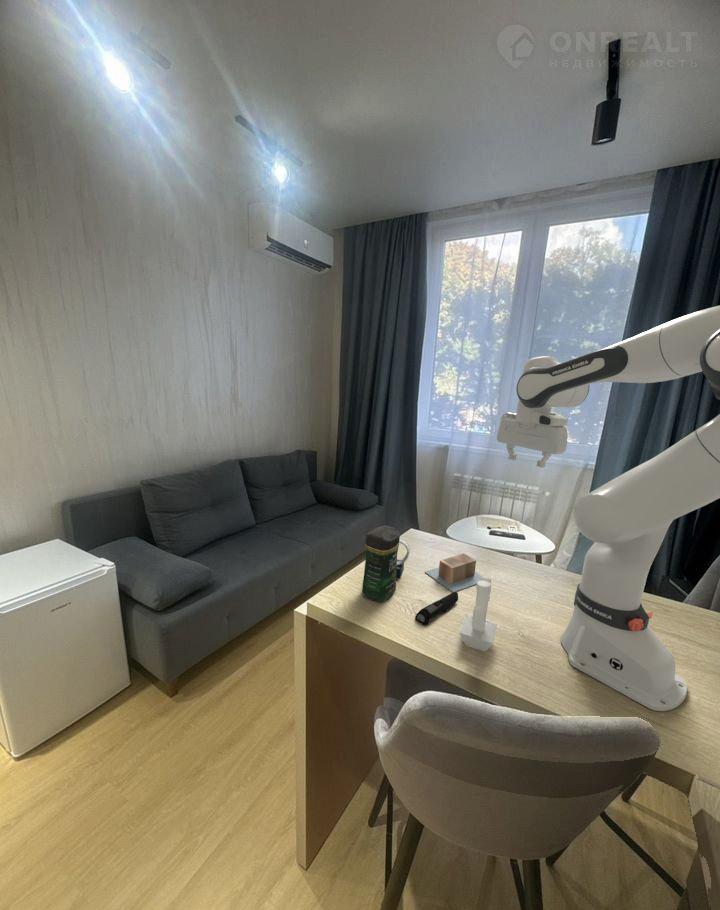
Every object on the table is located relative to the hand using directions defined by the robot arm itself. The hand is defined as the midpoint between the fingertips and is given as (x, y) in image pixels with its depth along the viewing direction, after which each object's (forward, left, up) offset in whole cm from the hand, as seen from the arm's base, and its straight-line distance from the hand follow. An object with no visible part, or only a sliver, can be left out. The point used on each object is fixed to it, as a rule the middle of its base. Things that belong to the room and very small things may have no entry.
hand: (525, 463), depth 109 cm
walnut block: (+6, +12, -32) cm, 35 cm away
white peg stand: (-17, +34, -35) cm, 52 cm away
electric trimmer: (-4, +34, -36) cm, 49 cm away
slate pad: (+6, +17, -35) cm, 40 cm away
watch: (+16, +33, -35) cm, 51 cm away
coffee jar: (+9, +43, -35) cm, 56 cm away
